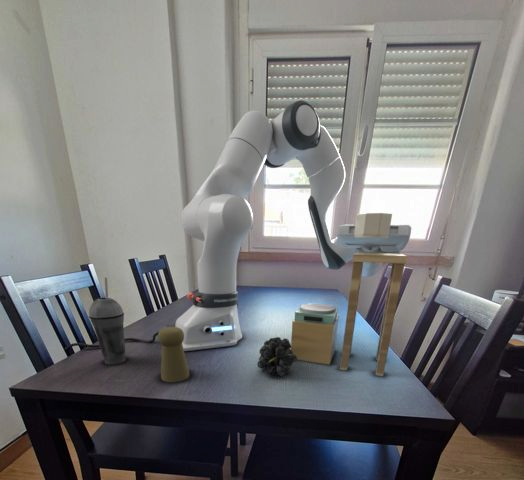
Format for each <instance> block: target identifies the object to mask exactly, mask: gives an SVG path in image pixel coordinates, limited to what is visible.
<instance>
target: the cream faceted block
mask: <svg viewBox="0 0 524 480" xmlns="http://www.w3.org/2000/svg"><path fill="white" fill-rule="evenodd" d="M392 217H393V213H386V212H365V213H356V215H355V224H354V225H355V231H354V238H388V235H389V231H390V225H392V224H391V223H392V219H393V218H392Z"/></svg>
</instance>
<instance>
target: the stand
mask: <svg viewBox="0 0 524 480" xmlns="http://www.w3.org/2000/svg"><path fill="white" fill-rule="evenodd" d="M407 260H408V255H406V254H403V253H400V254H385V253H355V254H353V259H352V260H351V261H352V271H351V278H350V284H349V285H350V286H349V293H348V303H347V310H346V317H345V324H344V325H345V326H344V333H343V340H342V341H343V342H342V350H341V356H340V365H339V370H341V371H348V366H349V358H350V357H351V354H352V349H353V347H352V345H353V341H354V332H355V325H356V318H357V311H358V303H359V296H360V290H361V282H362V277H363V276H362V268H363V262H370V263H382V264H391V268H390V274H389V279H388V286H387V292H386V297H385V302H384V307H383V308H384V309H383V314H382V320H381V326H380V331H379V337H378V343H377V349H376V355H375V361H377V363H376V369H375V376H378V377H384V374H385V368H386V363H387V359H388V354H389V353H388V352H389V347H390V344H391V343H390V342H391V337H392V332H393V326H394V322H395V316H396V310H397V305H398V300H399V294H400V289H401V286H402V285H401V284H402V278H403V273H404V268H405V265H406V264H407Z"/></svg>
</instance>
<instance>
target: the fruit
mask: <svg viewBox="0 0 524 480" xmlns="http://www.w3.org/2000/svg"><path fill="white" fill-rule="evenodd" d="M281 338H282V337H279V336H278V337H270V338H269V339H268V340H265V341H264V342H263V345H262V346H261V347H260V349H259V353H258V354H259V358H258V361H257V367H258V368H259V369H261V372H262V373H263V374H264V375H268V374H271V375H272V376H277V375H278V376H284V375H285V374H287V373H288V372H290V367H292V365H293V363H295V362H297V361H298V360H297V357H296V355H293V352H292V350H291V341H290V340H289V339H288V338H282V339H281Z"/></svg>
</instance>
